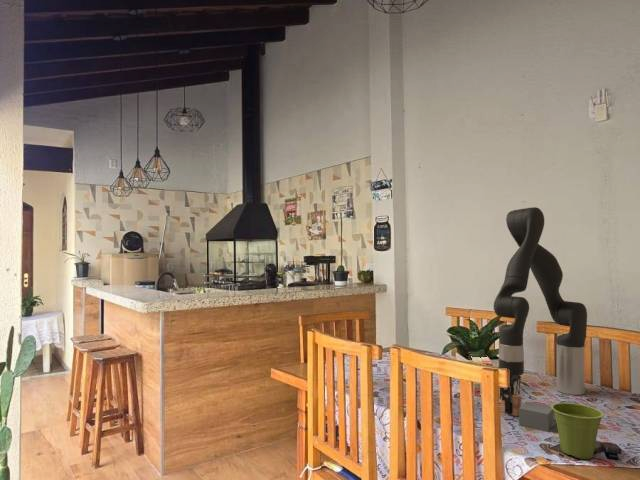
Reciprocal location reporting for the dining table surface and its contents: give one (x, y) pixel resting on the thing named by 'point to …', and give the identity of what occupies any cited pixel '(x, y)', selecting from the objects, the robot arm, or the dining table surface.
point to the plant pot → (577, 428)
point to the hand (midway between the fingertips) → (511, 410)
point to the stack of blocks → (485, 361)
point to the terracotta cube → (515, 405)
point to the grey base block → (536, 416)
